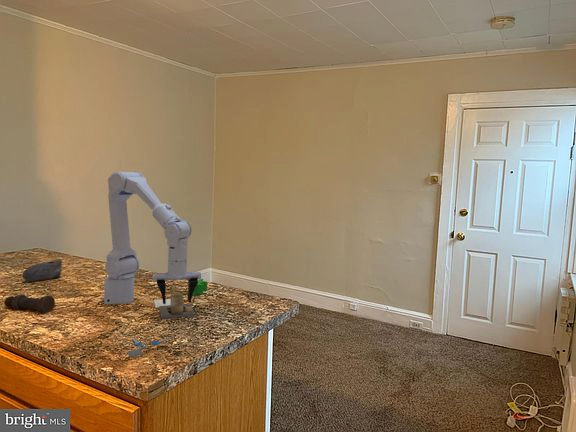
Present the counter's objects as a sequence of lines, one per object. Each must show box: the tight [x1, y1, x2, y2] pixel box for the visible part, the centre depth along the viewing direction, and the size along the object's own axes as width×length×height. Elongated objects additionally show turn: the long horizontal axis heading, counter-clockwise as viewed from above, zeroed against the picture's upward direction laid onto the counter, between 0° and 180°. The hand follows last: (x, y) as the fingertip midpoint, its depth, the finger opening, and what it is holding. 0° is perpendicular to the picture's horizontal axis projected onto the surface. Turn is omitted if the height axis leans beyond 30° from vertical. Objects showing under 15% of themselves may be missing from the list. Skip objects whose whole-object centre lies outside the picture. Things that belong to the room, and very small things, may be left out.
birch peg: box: [169, 293, 184, 313], centre depth 133 cm, size 4×4×6 cm
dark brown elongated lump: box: [3, 293, 56, 314], centre depth 131 cm, size 6×5×15 cm
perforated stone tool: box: [22, 259, 63, 282], centre depth 165 cm, size 15×5×7 cm, turn 142°
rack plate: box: [158, 303, 196, 320], centre depth 133 cm, size 10×10×2 cm
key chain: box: [126, 336, 172, 357], centre depth 109 cm, size 14×8×1 cm, turn 159°
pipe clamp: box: [192, 278, 208, 297], centre depth 155 cm, size 11×4×5 cm, turn 173°
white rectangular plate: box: [153, 298, 171, 309], centre depth 141 cm, size 6×8×1 cm
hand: (176, 302), depth 132 cm, fingers open, 7 cm apart
